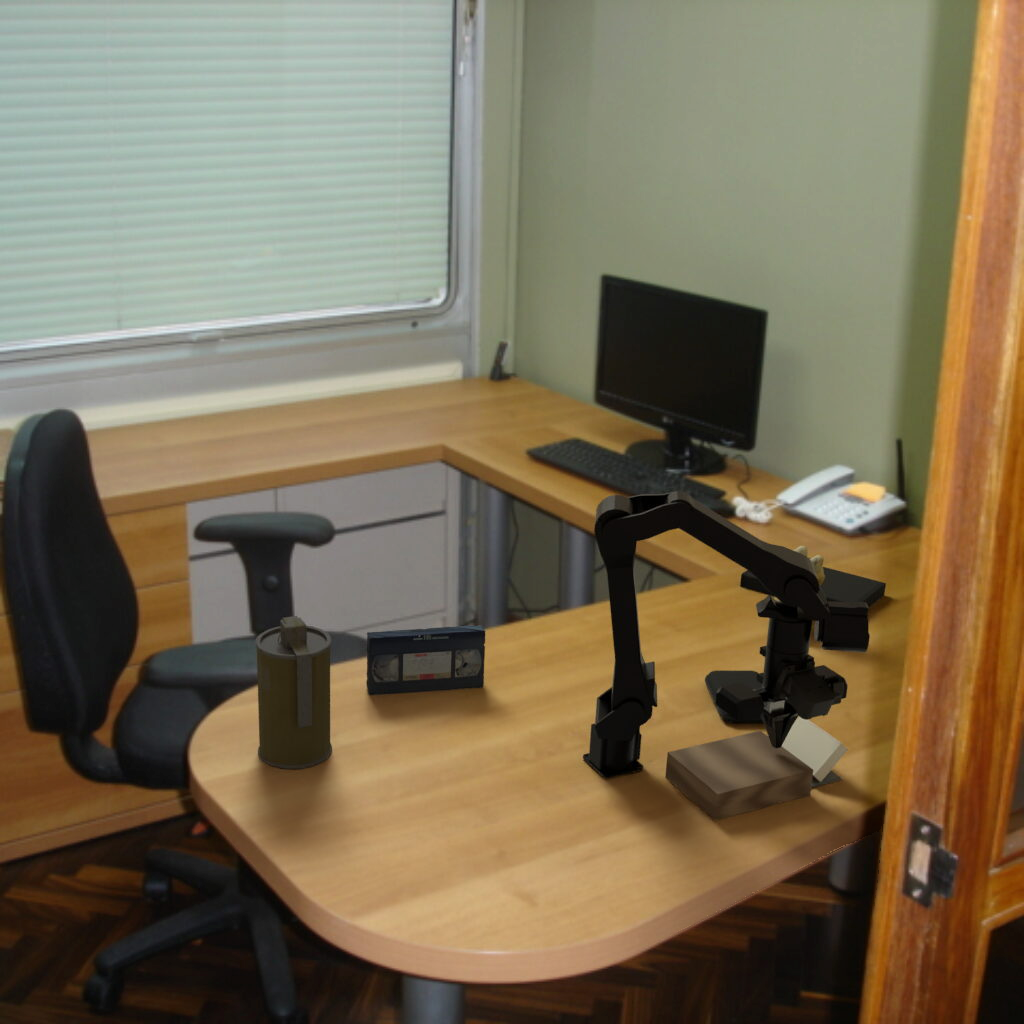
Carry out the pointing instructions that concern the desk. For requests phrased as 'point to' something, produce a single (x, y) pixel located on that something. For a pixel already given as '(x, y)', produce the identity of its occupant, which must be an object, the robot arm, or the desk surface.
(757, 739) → the riser
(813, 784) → the mat
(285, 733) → the canister
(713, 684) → the carrying case or bag
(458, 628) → the vhs cassette tape
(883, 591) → the external hard drive
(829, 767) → the cream rectangular box
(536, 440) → the desk surface
